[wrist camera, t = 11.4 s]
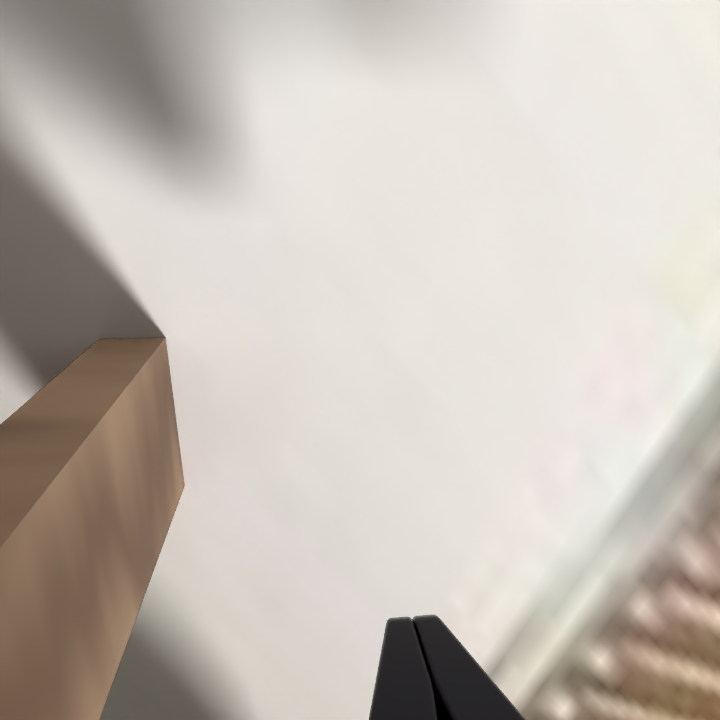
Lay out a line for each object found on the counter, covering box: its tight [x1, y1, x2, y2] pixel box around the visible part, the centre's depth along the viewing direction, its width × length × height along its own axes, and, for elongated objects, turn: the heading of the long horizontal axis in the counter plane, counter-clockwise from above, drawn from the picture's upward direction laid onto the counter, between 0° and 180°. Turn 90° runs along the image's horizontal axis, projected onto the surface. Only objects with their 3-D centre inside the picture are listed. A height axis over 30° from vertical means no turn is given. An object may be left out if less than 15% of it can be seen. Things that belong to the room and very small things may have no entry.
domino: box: [0, 338, 184, 720], centre depth 11 cm, size 5×2×10 cm, turn 179°
